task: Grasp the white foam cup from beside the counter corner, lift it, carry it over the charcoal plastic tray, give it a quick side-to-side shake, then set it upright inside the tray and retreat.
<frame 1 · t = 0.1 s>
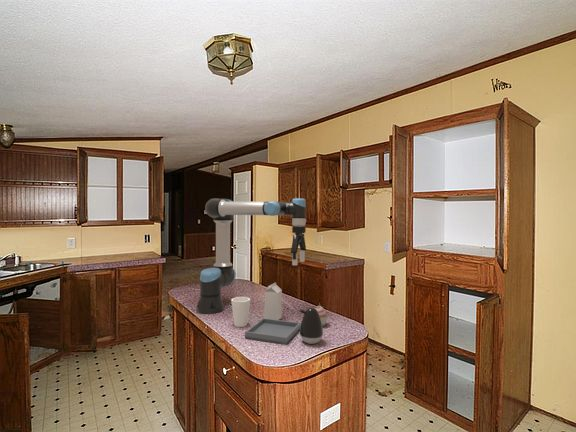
hand: (298, 263, 186), 28 cm above the counter, fingers open, 13 cm apart
milk carton: (273, 319, 175), on the counter
foam cup: (240, 325, 166), on the counter
pump dispenser: (311, 342, 146), on the counter
tray: (273, 333, 155), on the counter
cupcake: (318, 325, 167), on the counter
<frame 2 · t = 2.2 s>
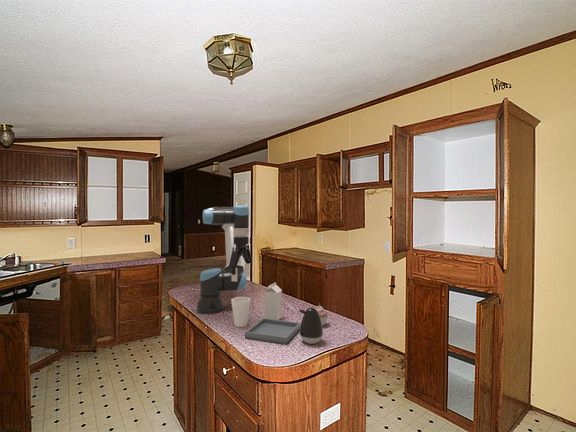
hand: (241, 278, 166), 23 cm above the counter, fingers open, 13 cm apart
nothing on the counter moved.
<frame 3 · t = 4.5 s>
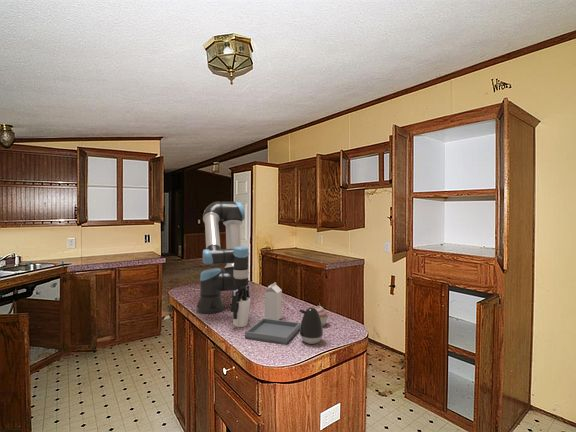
hand: (240, 321, 166), 2 cm above the counter, fingers closed on foam cup, 9 cm apart
foam cup: (240, 325, 166), on the counter, touching gripper
everything else where it was.
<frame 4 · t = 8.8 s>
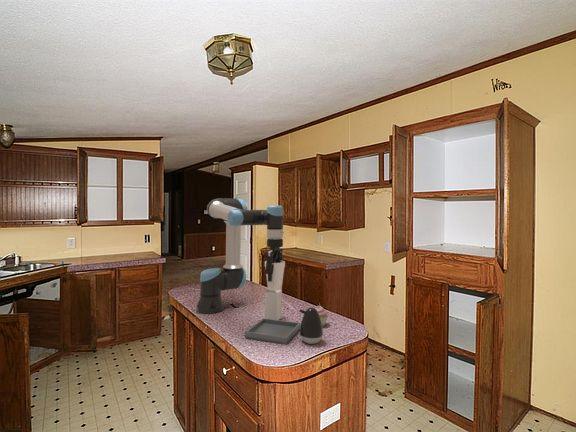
hand: (274, 285, 155), 22 cm above the counter, fingers closed on foam cup, 9 cm apart
foam cup: (274, 289, 155), point 21 cm above the counter, touching gripper
everything else where it was.
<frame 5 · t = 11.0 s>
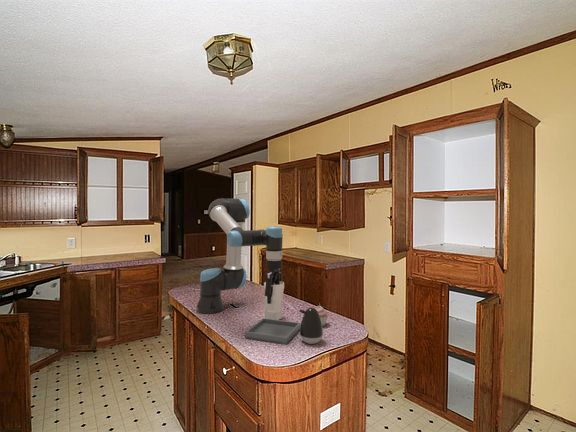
hand: (274, 307, 155), 12 cm above the counter, fingers closed on foam cup, 9 cm apart
foam cup: (274, 310, 155), point 11 cm above the counter, touching gripper
everything else where it was.
when the fingers open (4 cm above the counter, at t = 12.9 s): foam cup drops 1 cm, resting on tray.
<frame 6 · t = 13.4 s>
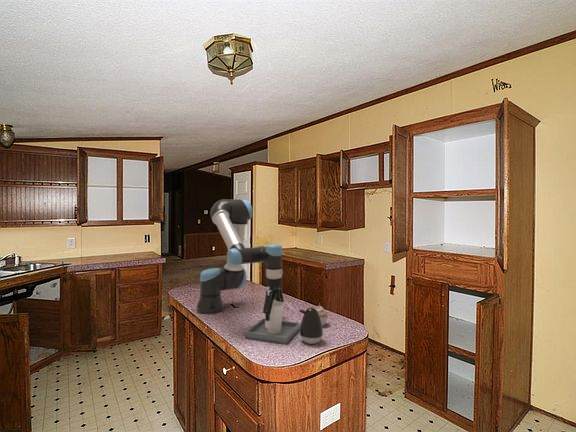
hand: (273, 322, 155), 5 cm above the counter, fingers open, 13 cm apart
foam cup: (273, 331, 155), point 1 cm above the counter, touching tray
everything else where it was.
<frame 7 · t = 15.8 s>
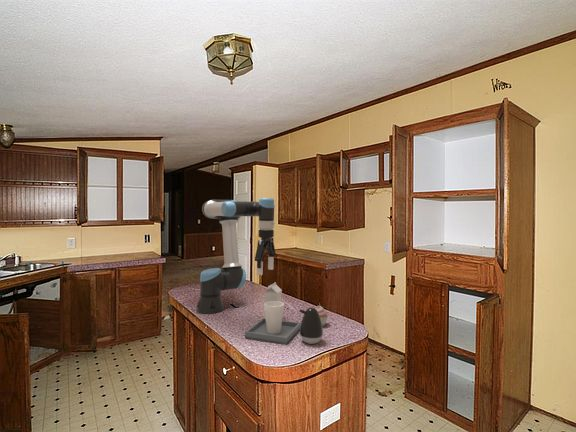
hand: (265, 272, 163), 27 cm above the counter, fingers open, 13 cm apart
nothing on the counter moved.
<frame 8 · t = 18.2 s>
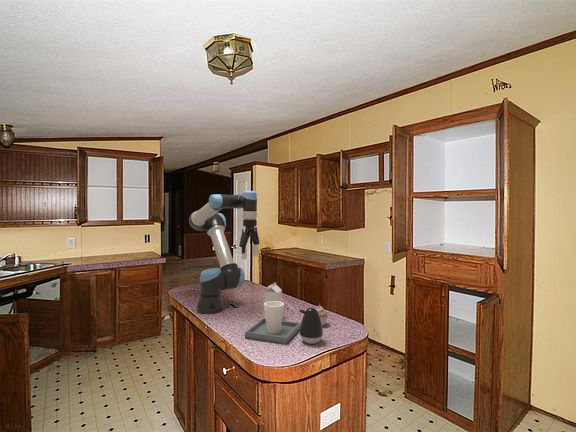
hand: (249, 257, 182), 32 cm above the counter, fingers open, 13 cm apart
nothing on the counter moved.
at the end: foam cup inside the target area on the tray (0.3 cm from its centre), point 0.8 cm above the tray's base; foam cup tilted 0°; the gripper is holding nothing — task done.
